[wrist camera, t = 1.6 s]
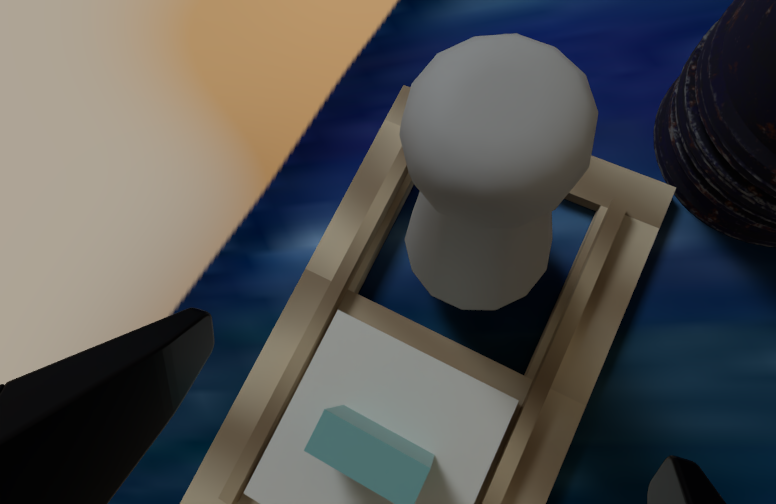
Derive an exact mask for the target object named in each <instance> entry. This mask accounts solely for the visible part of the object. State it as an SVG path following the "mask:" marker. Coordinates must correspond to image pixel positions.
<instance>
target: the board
mask: <svg viewBox="0 0 776 504" xmlns="http://www.w3.org/2000/svg"><path fill="white" fill-rule="evenodd" d="M409 92H410V87H407V86H405V85H403V87H402V89H401V91H400V93H399V95H398V96H397V98H396V100H395V102H394V104H393V106H392V108H391V110H390V111H389V113H388V115H387V117H386V119H385V121H384V123H383V125H382V126H381V128H380V130H379V132H378V134H377V136H376V138H375V140H374V141H373V143H372V145H371V147H370V149H369V151H368V153H367V155H366V156H365V158H364V160H363V162H362V164H361V166H360V168H359V169H358V171H357V173H356V175H355V177H354V179H353V181H352V183H351V184H350V186H349V188H348V190H347V192H346V194H345V196H344V198H343V199H342V201H341V203H340V205H339V207H338V209H337V211H336V213H335V214H334V216H333V218H332V220H331V222H330V224H329V226H328V228H327V229H326V231H325V233H324V235H323V237H322V239H321V241H320V243H319V244H318V246H317V248H316V250H315V252H314V254H313V256H312V257H311V259H310V261H309V263H308V265H307V267H306V269H305V271H304V272H303V274H302V276H301V278H300V280H299V282H298V284H297V286H296V287H295V289H294V291H293V293H292V295H291V297H290V299H289V301H288V302H287V304H286V306H285V308H284V310H283V312H282V314H281V316H280V317H279V319H278V321H277V323H276V325H275V327H274V329H273V331H272V332H271V334H270V336H269V338H268V340H267V342H266V344H265V345H264V347H263V349H262V351H261V353H260V355H259V357H258V359H257V360H256V362H255V364H254V366H253V368H252V370H251V372H250V374H249V375H248V377H247V379H246V381H245V383H244V385H243V387H242V389H241V390H240V392H239V394H238V396H237V398H236V400H235V402H234V404H233V405H232V407H231V409H230V411H229V413H228V415H227V417H226V419H225V420H224V422H223V424H222V426H221V428H220V430H219V432H218V433H217V435H216V437H215V439H214V441H213V443H212V445H211V447H210V448H209V450H208V452H207V454H206V456H205V458H204V460H203V462H202V463H201V465H200V467H199V469H198V471H197V473H196V475H195V477H194V478H193V480H192V482H191V484H190V486H189V488H188V490H187V492H186V493H185V495H184V497H183V499H182V501H181V503H180V504H260V503H258V502H257V501H255V500H253V499H252V498H250V497H249V496H247V495H245V494H244V491H245V489H246V487H247V485H248V483H249V481H250V479H251V477H252V475H253V473H254V471H255V470H256V468H257V466H258V464H259V462H260V460H261V458H262V456H263V454H264V452H265V450H266V448H267V446H268V444H269V442H270V440H271V438H272V437H273V435H274V433H275V431H276V429H277V427H278V425H279V423H280V421H281V419H282V417H283V415H284V413H285V411H286V409H287V407H288V405H289V404H290V402H291V400H292V398H293V396H294V394H295V392H296V390H297V388H298V386H299V384H300V382H301V380H302V378H303V376H304V374H305V372H306V371H307V369H308V367H309V365H310V363H311V361H312V359H313V357H314V355H315V353H316V351H317V349H318V347H319V345H320V343H321V341H322V339H323V338H324V336H325V334H326V332H327V330H328V328H329V326H330V324H331V322H332V320H333V318H334V316H335V314H336V312H337V310H340V311H342V312H344V313H346V314H348V315H350V316H352V317H354V318H356V319H358V320H360V321H362V322H364V323H366V324H368V325H370V326H372V327H374V328H376V329H378V330H380V331H382V332H384V333H386V334H388V335H390V336H392V337H394V338H396V339H398V340H400V341H402V342H404V343H405V344H407V345H409V346H411V347H413V348H415V349H417V350H419V351H421V352H423V353H425V354H427V355H429V356H431V357H433V358H435V359H437V360H439V361H441V362H443V363H445V364H447V365H449V366H451V367H453V368H455V369H457V370H459V371H461V372H463V373H465V374H467V375H469V376H471V377H473V378H475V379H477V380H479V381H481V382H483V383H485V384H487V385H489V386H491V387H493V388H495V389H497V390H499V391H501V392H503V393H505V394H507V395H509V396H511V397H513V398H515V399H517V400H519V402H518V404H517V406H516V408H515V411H514V413H513V415H512V418H511V420H510V422H509V424H508V427H507V429H506V431H505V434H504V436H503V438H502V440H501V443H500V445H499V447H498V450H497V452H496V454H495V456H494V459H493V461H492V463H491V466H490V468H489V470H488V472H487V475H486V477H485V479H484V482H483V484H482V486H481V489H480V491H479V493H478V495H477V498H476V500H475V502H474V504H546V502H547V499H548V497H549V494H550V492H551V489H552V487H553V485H554V482H555V480H556V477H557V475H558V473H559V470H560V468H561V465H562V463H563V460H564V458H565V456H566V453H567V451H568V448H569V446H570V444H571V441H572V439H573V436H574V434H575V431H576V429H577V427H578V424H579V422H580V419H581V417H582V415H583V412H584V410H585V407H586V405H587V402H588V400H589V398H590V395H591V393H592V390H593V388H594V385H595V383H596V381H597V378H598V376H599V373H600V371H601V369H602V366H603V364H604V361H605V359H606V356H607V354H608V352H609V349H610V347H611V344H612V342H613V340H614V337H615V335H616V332H617V330H618V327H619V325H620V323H621V320H622V318H623V315H624V313H625V311H626V308H627V306H628V303H629V301H630V298H631V296H632V294H633V291H634V289H635V286H636V284H637V281H638V279H639V277H640V274H641V272H642V269H643V267H644V265H645V262H646V260H647V257H648V255H649V252H650V250H651V248H652V245H653V243H654V240H655V238H656V236H657V233H658V231H659V228H660V226H661V223H662V221H663V219H664V216H665V214H666V211H667V209H668V207H669V204H670V202H671V199H672V197H673V194H674V192H675V190H676V187H674V186H671V185H668V184H666V183H663V182H660V181H658V180H655V179H652V178H650V177H647V176H644V175H642V174H639V173H636V172H634V171H631V170H628V169H626V168H623V167H620V166H618V165H615V164H612V163H610V162H607V161H604V160H602V159H599V158H596V157H594V156H591V159H590V165H589V168H588V169H587V171H586V172H585V173H584V175H583V176H582V177H581V178H580V180H579V181H578V182H577V183H576V185H575V186H574V187H573V188H572V189H571V191H570V192H569V193H568V194H567V196H566V197H565V198H564V199H566V200H569V201H571V202H574V203H576V204H579V205H581V206H584V207H586V208H589V209H591V210H594V211H596V213H595V215H594V217H593V219H592V222H591V224H590V226H589V228H588V231H587V233H586V235H585V238H584V240H583V242H582V244H581V247H580V249H579V251H578V254H577V256H576V258H575V260H574V263H573V265H572V267H571V269H570V272H569V274H568V276H567V279H566V281H565V283H564V285H563V288H562V290H561V292H560V295H559V297H558V299H557V301H556V304H555V306H554V308H553V310H552V313H551V315H550V317H549V320H548V322H547V324H546V326H545V329H544V331H543V333H542V335H541V338H540V340H539V342H538V345H537V347H536V349H535V351H534V354H533V356H532V358H531V361H530V363H529V365H528V367H527V370H526V372H525V374H524V375H522V374H520V373H518V372H516V371H514V370H511V369H509V368H507V367H505V366H503V365H501V364H499V363H497V362H495V361H493V360H491V359H489V358H487V357H485V356H483V355H481V354H479V353H477V352H475V351H473V350H471V349H469V348H467V347H465V346H462V345H460V344H458V343H456V342H454V341H452V340H450V339H448V338H446V337H444V336H442V335H440V334H438V333H436V332H434V331H432V330H430V329H428V328H426V327H424V326H422V325H420V324H418V323H416V322H414V321H411V320H409V319H407V318H405V317H403V316H401V315H399V314H397V313H395V312H393V311H391V310H389V309H387V308H385V307H383V306H381V305H379V304H377V303H375V302H373V301H371V300H369V299H367V298H365V297H363V296H360V295H358V293H359V291H360V289H361V287H362V285H363V283H364V281H365V279H366V277H367V275H368V273H369V271H370V269H371V267H372V265H373V263H374V261H375V259H376V258H377V256H378V254H379V252H380V250H381V248H382V246H383V244H384V242H385V240H386V238H387V236H388V234H389V232H390V230H391V228H392V226H393V224H394V222H395V220H396V218H397V216H398V214H399V212H400V211H401V209H402V207H403V205H404V203H405V201H406V199H407V197H408V195H409V193H410V191H411V189H412V187H413V185H414V183H413V182H412V179H411V177H410V175H409V172H408V168H407V164H406V160H405V156H404V152H403V147H402V143H401V139H400V135H399V134H400V127H401V120H402V117H403V113H404V109H405V106H406V102H407V99H408V95H409Z"/></svg>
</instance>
